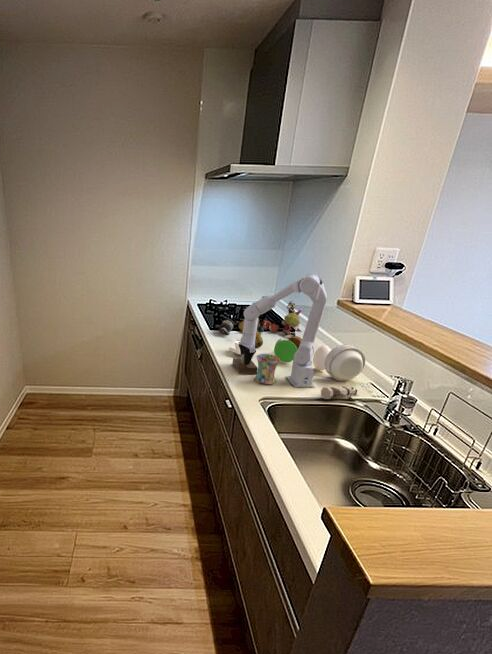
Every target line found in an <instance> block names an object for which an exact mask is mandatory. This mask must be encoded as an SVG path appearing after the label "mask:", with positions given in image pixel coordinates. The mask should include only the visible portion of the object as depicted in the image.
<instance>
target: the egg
mask: <svg viewBox="0 0 492 654" xmlns="http://www.w3.org/2000/svg"><path fill="white" fill-rule="evenodd" d="M331 350H332V349H331V348H330V347H329V346H328V345H325V344H323V345H320V346H319V347H318V348H317V349H316V350H315V351H314V354H313V357H312V365H313V366H314V368H315V369H316V370H317V371H325V370H326V369H325V366H324V362H325V358H326V356H327V355H328V353H329V352H330V351H331Z"/></svg>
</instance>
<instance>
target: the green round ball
mask: <svg viewBox="0 0 492 654" xmlns="http://www.w3.org/2000/svg"><path fill="white" fill-rule="evenodd" d="M292 336H293V335H286V336H285V335H283V337H281V338H279V339H278V340H277V341H276V343H275V344H274V349H273V354H274V355H275V356H277V357H279V358H280V361H279V362H282V363H290V362H292V361H293V360H294V354H295V353H296V351H297V350H298V348H299V346H300V344H301V341H302V338H301V337H300V336H296V335H295V336H294V337H292ZM280 340H281V341H280Z"/></svg>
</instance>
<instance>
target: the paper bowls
mask: <svg viewBox="0 0 492 654" xmlns="http://www.w3.org/2000/svg"><path fill="white" fill-rule="evenodd" d="M330 350H331V351H330V352H329V353H328V355H327V356H326V358H325V362H324V366H325V369H324V370H325V371H326V373H327V374H328V375H329V376H330V377H331V378H333V379H334V380H336V381H341V382H346V381H349V380H353V379H354V378H356V377H357V376H359V375H360V374H361V373H362V371H363V369H364V368H365V365H366V356H365V355H364V353H363V352H362V351H361V350H360V349H359V348H357V347H356V346H355V345H353V344H346V343H345V344H340V345H338V346H335V347H334V348H332V349H330Z"/></svg>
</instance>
